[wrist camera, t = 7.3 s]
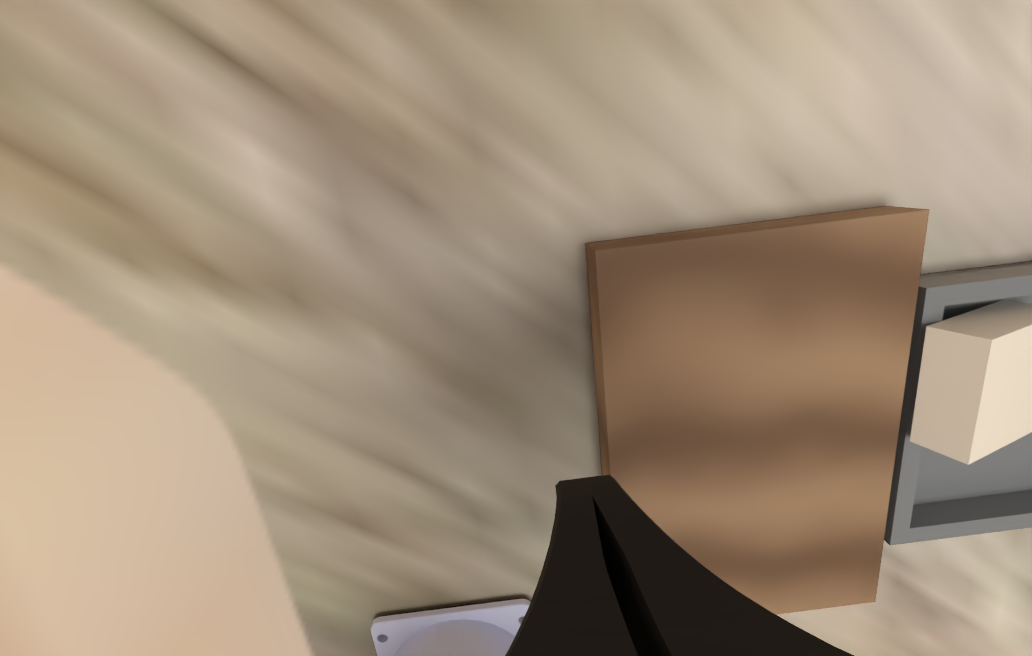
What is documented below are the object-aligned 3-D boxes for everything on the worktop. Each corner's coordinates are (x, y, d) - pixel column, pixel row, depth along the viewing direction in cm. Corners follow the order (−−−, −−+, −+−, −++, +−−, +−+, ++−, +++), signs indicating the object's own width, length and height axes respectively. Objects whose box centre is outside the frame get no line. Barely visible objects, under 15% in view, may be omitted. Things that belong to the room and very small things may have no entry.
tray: (1083, 490, 24) (1129, 514, 22) (861, 518, 24) (889, 545, 22) (1151, 246, 20) (1212, 252, 19) (890, 278, 20) (926, 288, 19)
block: (982, 407, 22) (1042, 426, 20) (909, 441, 20) (968, 464, 18) (1002, 299, 20) (1069, 310, 19) (926, 326, 19) (991, 339, 17)
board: (845, 568, 25) (875, 601, 23) (611, 598, 25) (621, 634, 23) (886, 206, 19) (929, 209, 17) (585, 243, 19) (595, 250, 17)
